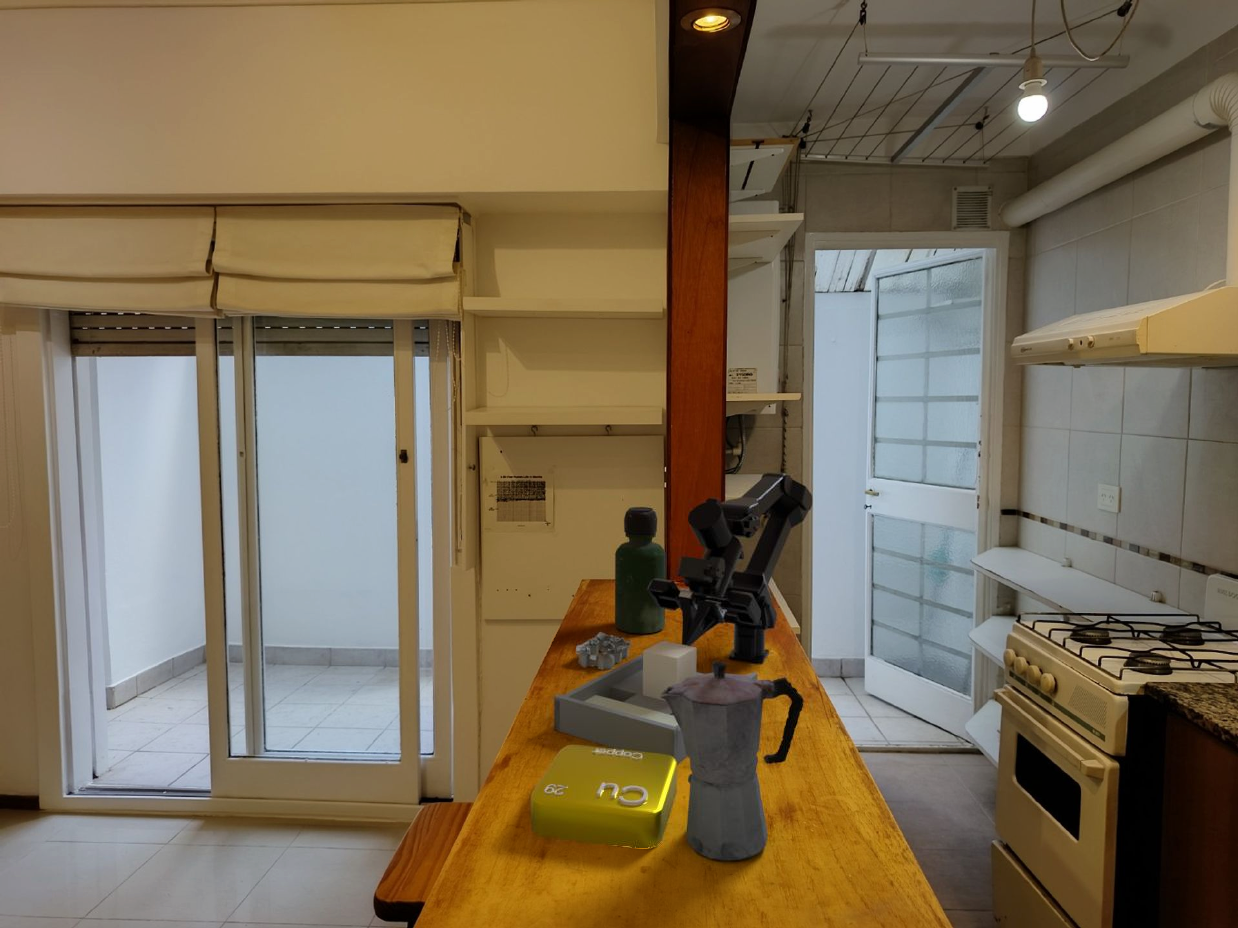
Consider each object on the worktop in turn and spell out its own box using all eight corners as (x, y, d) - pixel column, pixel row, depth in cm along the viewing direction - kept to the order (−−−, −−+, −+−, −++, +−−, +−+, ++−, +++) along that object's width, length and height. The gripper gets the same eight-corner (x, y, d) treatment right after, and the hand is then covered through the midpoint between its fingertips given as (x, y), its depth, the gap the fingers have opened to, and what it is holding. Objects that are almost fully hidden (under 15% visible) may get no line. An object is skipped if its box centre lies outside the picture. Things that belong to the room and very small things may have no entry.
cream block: (662, 683, 125) (663, 640, 124) (695, 691, 122) (696, 647, 121) (642, 695, 120) (643, 650, 119) (676, 703, 117) (677, 658, 116)
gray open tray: (649, 675, 135) (650, 647, 135) (756, 701, 124) (757, 670, 124) (554, 729, 113) (554, 696, 113) (674, 766, 102) (674, 729, 102)
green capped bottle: (674, 629, 162) (676, 510, 159) (634, 638, 156) (634, 514, 153) (645, 617, 170) (646, 503, 168) (605, 625, 164) (605, 507, 162)
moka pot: (654, 817, 90) (655, 648, 88) (784, 812, 91) (789, 645, 89) (666, 867, 80) (667, 679, 79) (811, 861, 82) (817, 675, 80)
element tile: (679, 787, 98) (679, 750, 97) (658, 855, 83) (659, 812, 83) (564, 773, 101) (564, 738, 101) (525, 837, 87) (525, 796, 86)
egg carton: (608, 673, 137) (608, 651, 136) (571, 666, 140) (571, 644, 140) (635, 655, 146) (635, 634, 146) (600, 649, 150) (600, 628, 149)
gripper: (653, 531, 132) (616, 609, 124) (755, 543, 122) (722, 629, 114) (675, 568, 139) (642, 644, 131) (774, 583, 129) (744, 666, 121)
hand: (684, 645), depth 124 cm, fingers closed
